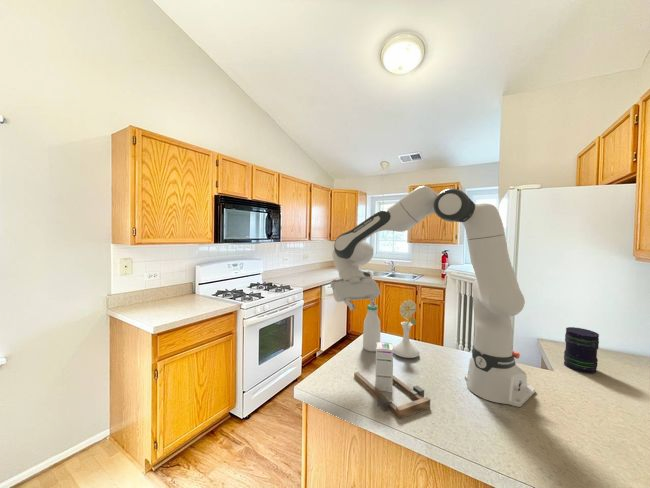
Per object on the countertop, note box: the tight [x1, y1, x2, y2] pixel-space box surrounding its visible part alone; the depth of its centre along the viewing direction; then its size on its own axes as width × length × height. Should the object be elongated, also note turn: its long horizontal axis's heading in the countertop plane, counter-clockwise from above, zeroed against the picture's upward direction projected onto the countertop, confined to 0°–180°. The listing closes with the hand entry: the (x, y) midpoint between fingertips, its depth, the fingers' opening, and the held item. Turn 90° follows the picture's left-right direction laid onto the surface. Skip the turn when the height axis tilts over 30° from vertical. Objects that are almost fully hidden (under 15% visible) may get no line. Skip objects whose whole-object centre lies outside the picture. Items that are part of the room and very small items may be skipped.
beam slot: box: [354, 371, 431, 420], centre depth 91 cm, size 16×24×2 cm, turn 26°
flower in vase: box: [392, 299, 420, 359], centre depth 117 cm, size 13×11×25 cm
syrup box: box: [374, 341, 394, 393], centre depth 94 cm, size 6×6×14 cm
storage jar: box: [563, 326, 600, 375], centre depth 109 cm, size 10×10×15 cm
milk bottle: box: [362, 304, 381, 353], centre depth 124 cm, size 8×8×20 cm
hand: (363, 308), depth 105 cm, fingers open, 8 cm apart
